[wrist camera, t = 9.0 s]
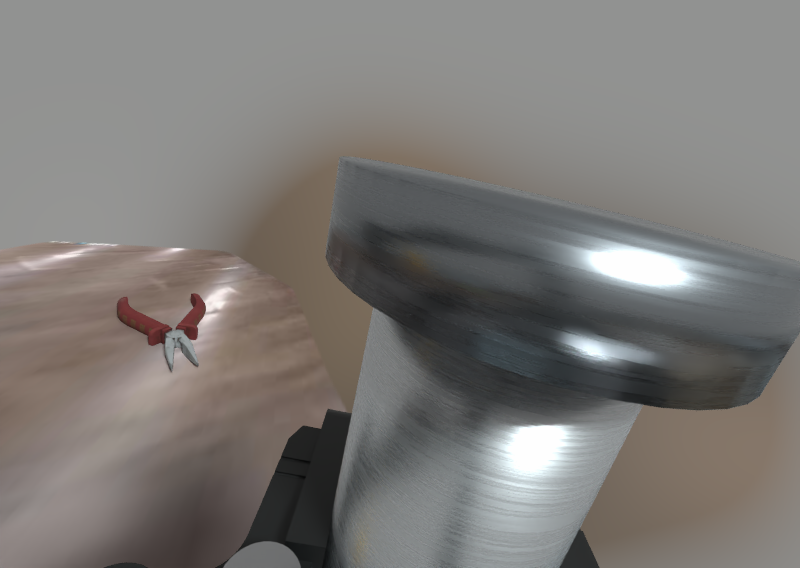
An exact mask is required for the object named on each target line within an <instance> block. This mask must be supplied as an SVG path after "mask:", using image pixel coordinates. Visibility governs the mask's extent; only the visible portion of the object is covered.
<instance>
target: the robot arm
mask: <svg viewBox="0 0 800 568" xmlns="http://www.w3.org/2000/svg"><path fill="white" fill-rule="evenodd" d="M351 416H352V413H347V412H341V411H336V410H331V409H328V410H327V412H326V416H325V419H324V422H323V425H322V428H321V429H319V428H313V427H308V426H302V427H301V428H300V429H299V430H298V431H297V432H295V433H294V434H293V435H292V436H291V437H290V438H289V439H288V442H287V444H286V446H285V449H284V451H283V453H282V456H281V459H280V460H279V463H278V465H277V468H276V470H275V473H274V475H273V477H272V479H271V482H270V484H269V486H268V489H267V491H266V493H265V496H264V498H263V501H262V503H261V505H260V508H259V510H258V512H257V515H256V517H255V519H254V522H253V524H252V526H251V529H250V531H249V534H248V536H247V538H246V540H245V541H244V543H243V544H242V546H241V547H240V548H239V550H238V551H237V552H236V553H235V554H234V555H233V556H232V557H231V558H229V559H228V560H227V561H225V562H224V563H223V564H221V565H220V566H218V567H216V568H322V566H323V561H324V556H325V551H326V546H327V541H328V537H329V532H330V527H331V522H332V512H333V505H334V499H335V494H336V490H337V485H338V480H339V475H340V470H341V465H342V460H343V455H344V450H345V445H346V440H347V435H348V430H349V425H350V421H351ZM105 568H147V567H145V566H143V565H141V564H137V563H119V564H114V565H111V566H107V567H105ZM560 568H599V566H598V564H597V561H596V559H595V557H594V555H593V553H592V551H591V548H590V546H589V544H588V542H587V540H586V538H585V535H584V533H583V531H581V530H580V529H579V531H578V532H577V534H576V536H575V538H574V540H573V542H572V544H571V546H570V548H569V550H568V552H567V554H566V556H565V558H564V560H563V562H562V564H561V566H560Z"/></svg>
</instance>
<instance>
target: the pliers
mask: <svg viewBox="0 0 800 568" xmlns="http://www.w3.org/2000/svg"><path fill="white" fill-rule="evenodd" d="M191 303H192V305H193V307H194V308H193V309H192V310H191V311H190V312H189V313H188V314H187V316H186V317H185V318H184V319H183V320H182V321H181V322H180V323H179V324H178V326H177V327H176V330H175V331H172V328H171V327H169V326H168V325H166V324H165V325H164V324H162V323H160V322H158V321H156V320H154V319H152V318H150V317H148V316H146V315H144V314H142V313H139V312H137V311H135V310H134V309H132V308H131V307H130V306H129V304H128V298H127V297H123V298H121V299H120V300H119V301H118V303H117V312H118V317H119V319H120V320H121V321H122V322H123V323H125V324H126V325H128V326H130V327H132V328H134V329H136V330H138V331H140V332H142V333H144V334H146V335H148V336H149V337H148V344H149V345H151V346H153V345H156V344H158V343H162V344H165V356H166V359H167V361H168V364H169V366H170V369H171V371H172V369H173V359H174V348H177V347H178V348H182V353H183V354H184V355H185V356H186V357H187V358H188V359H189V360H191V361H192V362H193V363H194V364H195V365H197V366H198V365H199V364H198V361H197V357H196V354H195V351H194V348H193V345H192V343H191V341H190V340H196V339H197V335H198V328H197V324H198V323H199V322H200V321H201V319H202V318H203V316H204V314H205V311H206V306H205V303H204V302H203V300H202V299H201V297H200V296H199V295H198V294H191ZM189 339H190V340H189Z"/></svg>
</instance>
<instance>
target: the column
mask: <svg viewBox="0 0 800 568" xmlns="http://www.w3.org/2000/svg"><path fill="white" fill-rule="evenodd" d="M326 259H327V262H328V265H329V267H330V268H331V270H332V271H333V273H334V274H335V275H336V277H337V278H338V279H339V280H340V281H341V282H342V283H343V284H344V285H345V286H346V287H347V288H348V289H350V290H351V291H352V292H353V293H354V294H356V295H357V296H358V297H360V298H361V299H363V300H364V301H365V302H367V303H368V304H369V305H371V306H372V307H373V312H372V317H371V322H370V327H369V332H368V337H367V342H366V347H365V352H364V357H363V361H362V367H361V371H360V376H359V381H358V386H357V392H356V396H355V401H354V406H353V411H352V416H351V421H350V425H349V430H348V435H347V440H346V445H345V450H344V455H343V460H342V465H341V470H340V475H339V480H338V485H337V490H336V494H335V499H334V505H333V512H332V522H331V527H330V532H329V537H328V541H327V546H326V551H325V556H324V561H323V566H322V568H560V566H561V564H562V562H563V560H564V558H565V556H566V554H567V552H568V550H569V548H570V546H571V544H572V542H573V540H574V538H575V536H576V534H577V532H578V531H579V529H580V527H581V525H582V523H583V521H584V519H585V517H586V515H587V513H588V511H589V509H590V507H591V505H592V503H593V501H594V499H595V497H596V495H597V493H598V491H599V489H600V488H601V486H602V484H603V482H604V480H605V478H606V476H607V474H608V472H609V470H610V468H611V466H612V464H613V462H614V460H615V458H616V456H617V454H618V452H619V450H620V449H621V446H622V445H623V443H624V441H625V438H626V437H627V435H628V433H629V431H630V429H631V427H632V425H633V423H634V421H635V419H636V417H637V415H638V413H639V411H640V409H641V408H642V406H643V405H648V406H654V407H661V408H673V409H674V408H675V409H687V410H713V409H714V410H715V409H729V408H733V407H737V406H741V405H745V404H748V403H750V402H752V401H753V400H755V399H756V398H758V397H759V396H760V395H761V393H762V392H763V390H764V388H765V387H766V385H767V383H768V382H769V380H770V379H771V377H772V376H773V374H774V372H775V371H776V369H777V368H778V366H779V365H780V363H781V361H782V360H783V358H784V357H785V355H786V354H787V352H788V350H789V349H790V347H791V346H792V344H793V342H794V341H795V339H796V338H797V336H798V335H799V333H800V262H799V261H796V260H792V259H789V258H786V257H782V256H779V255H776V254H772V253H768V252H765V251H761V250H758V249H754V248H750V247H747V246H744V245H740V244H736V243H733V242H728V241H725V240H721V239H717V238H714V237H709V236H706V235H702V234H699V233H695V232H691V231H686V230H683V229H679V228H675V227H671V226H667V225H663V224H659V223H655V222H651V221H647V220H643V219H639V218H635V217H631V216H627V215H623V214H619V213H615V212H611V211H607V210H602V209H598V208H594V207H590V206H586V205H582V204H578V203H573V202H569V201H565V200H560V199H556V198H552V197H548V196H543V195H539V194H535V193H530V192H525V191H522V190H517V189H513V188H508V187H504V186H499V185H495V184H490V183H486V182H481V181H476V180H472V179H467V178H463V177H458V176H453V175H448V174H443V173H438V172H434V171H429V170H424V169H419V168H414V167H408V166H404V165H398V164H393V163H388V162H381V161H376V160H370V159H363V158H356V157H345V156H343V157H340V158H339V165H338V172H337V179H336V185H335V192H334V199H333V205H332V212H331V219H330V226H329V233H328V239H327V246H326Z"/></svg>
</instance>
